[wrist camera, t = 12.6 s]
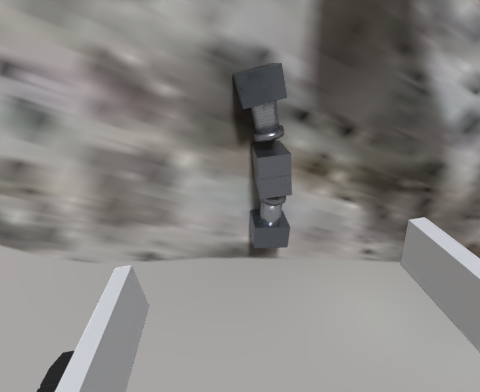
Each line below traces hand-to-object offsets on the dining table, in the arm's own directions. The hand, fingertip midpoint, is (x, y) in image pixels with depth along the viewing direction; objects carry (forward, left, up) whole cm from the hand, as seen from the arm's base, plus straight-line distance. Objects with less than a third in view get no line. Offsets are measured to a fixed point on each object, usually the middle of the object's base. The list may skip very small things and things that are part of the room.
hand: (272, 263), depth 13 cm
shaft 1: (-3, +4, -26) cm, 26 cm away
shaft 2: (+12, +4, -26) cm, 29 cm away
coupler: (+4, +4, -26) cm, 27 cm away
